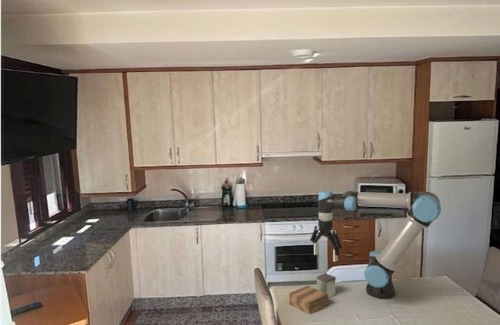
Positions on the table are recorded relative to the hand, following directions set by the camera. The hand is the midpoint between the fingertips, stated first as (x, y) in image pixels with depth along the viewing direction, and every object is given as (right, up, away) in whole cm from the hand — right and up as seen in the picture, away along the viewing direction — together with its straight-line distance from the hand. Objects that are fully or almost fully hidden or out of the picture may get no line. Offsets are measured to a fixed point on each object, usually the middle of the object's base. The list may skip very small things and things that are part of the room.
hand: (325, 257), depth 203 cm
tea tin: (+1, -21, +2) cm, 21 cm away
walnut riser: (-11, -22, -9) cm, 26 cm away
